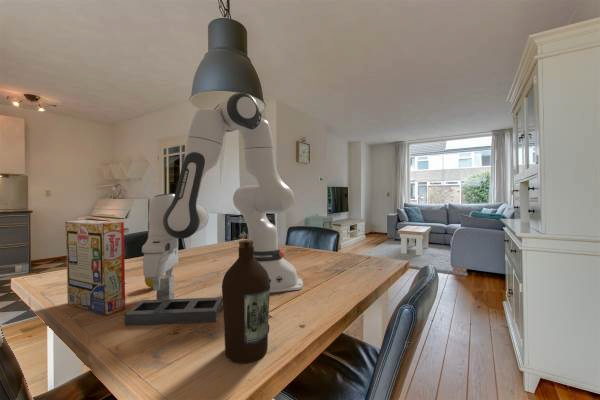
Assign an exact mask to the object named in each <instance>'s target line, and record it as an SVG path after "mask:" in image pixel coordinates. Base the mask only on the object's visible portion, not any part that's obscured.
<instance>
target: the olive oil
mask: <svg viewBox="0 0 600 400" xmlns="http://www.w3.org/2000/svg"><path fill="white" fill-rule="evenodd" d="M238 245H239V246H238V257H237V259H236V260H235V262H234V263H232V265H231V266H230V267H229V268H228V269H227V270H226V272H225V274H224V275H223V278H222V279H223V280H222V283H221V293H222V296H221V297H222V298H223V307H222V311H223V312H222V313H223V329H224V330H223V331H224V353H225V356H226V357H225V358H227V360H228V361H231V362H233V363H237V364H248V363H252V362H253V363H254V362H256V361H259V360H260V359H262V358H264V356H265V355H266V354H267V352H268V344H269V339H268V337H269V333H270V325H269V324H270V323H269V315H270V312H269V311H270V296H271V295H270V294H271V293H270V279H269V276H268V273H267V271H266V270H265V269H264V267H263V266H262V265H261V264H260V263H259V262H258V261H257V260H256V259H255V258H254V247H253V241H252V240H249V239H242V240H239V241H238Z"/></svg>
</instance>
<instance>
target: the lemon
mask: <svg viewBox="0 0 600 400" xmlns="http://www.w3.org/2000/svg"><path fill="white" fill-rule="evenodd" d="M144 283H145V285H146V286H147V287H148V288H151V289H152V290H153V283H152V281H151V279H145V278H144Z"/></svg>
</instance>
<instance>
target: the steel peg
mask: <svg viewBox="0 0 600 400" xmlns="http://www.w3.org/2000/svg"><path fill="white" fill-rule="evenodd" d="M174 277H175V275H174V274H172V275H166V274H163V275H161V276H160V283H161V288H160V289H159V290H156V300H160V299H175V284H174V283H175V281H174V280H175V278H174Z"/></svg>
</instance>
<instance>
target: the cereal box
mask: <svg viewBox="0 0 600 400" xmlns="http://www.w3.org/2000/svg"><path fill="white" fill-rule="evenodd" d="M124 223H125V222H124V221H111V220H110V221H108V220H107V221H106V220H105V221H104V220H88V219H81V220H80V219H79V220H67V221H65V248H66V252H65V253H66V278H67V279H66V286H67V287H66V288H67V289H66V290H67V305H69V306H73V307H77V308H81V309H84V310H88V311H91V312H95V313H99V314H101V315H105V316H107V315H111V314H113V313H115V312H119V311H120V310H123V309H125V308H126V281H125V280H126V276H125V274H126V273H125V267H126V265H125V224H124Z"/></svg>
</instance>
